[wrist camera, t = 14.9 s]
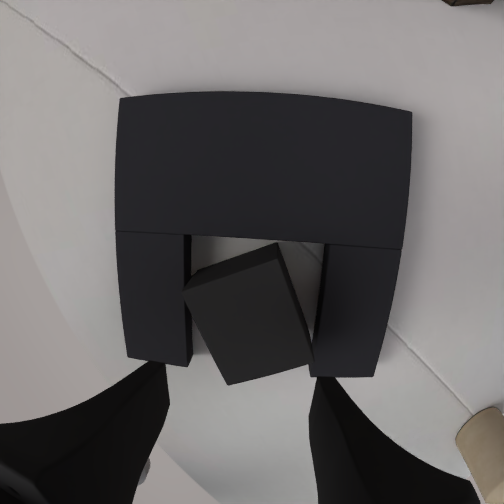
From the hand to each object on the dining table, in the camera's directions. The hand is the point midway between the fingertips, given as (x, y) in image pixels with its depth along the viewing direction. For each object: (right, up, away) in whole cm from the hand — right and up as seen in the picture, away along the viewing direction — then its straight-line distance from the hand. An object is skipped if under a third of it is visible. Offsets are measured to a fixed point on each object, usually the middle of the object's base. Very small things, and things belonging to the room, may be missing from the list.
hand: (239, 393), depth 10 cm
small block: (+1, +2, +8) cm, 8 cm away
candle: (+23, -12, +10) cm, 28 cm away
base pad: (+1, +6, +7) cm, 9 cm away
